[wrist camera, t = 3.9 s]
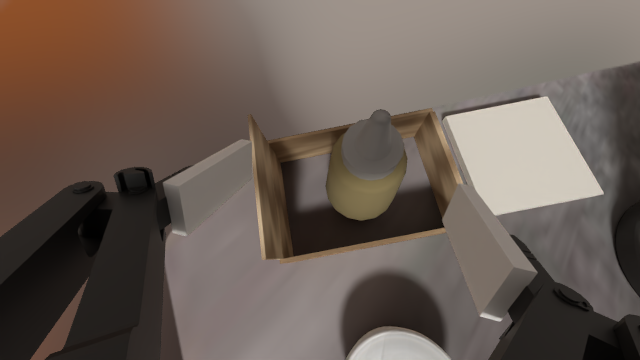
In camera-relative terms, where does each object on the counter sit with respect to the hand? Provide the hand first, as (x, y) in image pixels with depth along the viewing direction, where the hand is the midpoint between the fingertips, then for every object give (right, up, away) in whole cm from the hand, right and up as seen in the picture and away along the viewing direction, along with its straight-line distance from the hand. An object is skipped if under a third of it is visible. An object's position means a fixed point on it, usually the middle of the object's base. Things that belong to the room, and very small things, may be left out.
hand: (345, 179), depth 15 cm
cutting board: (+24, +3, +16) cm, 29 cm away
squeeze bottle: (+3, -2, +16) cm, 17 cm away
